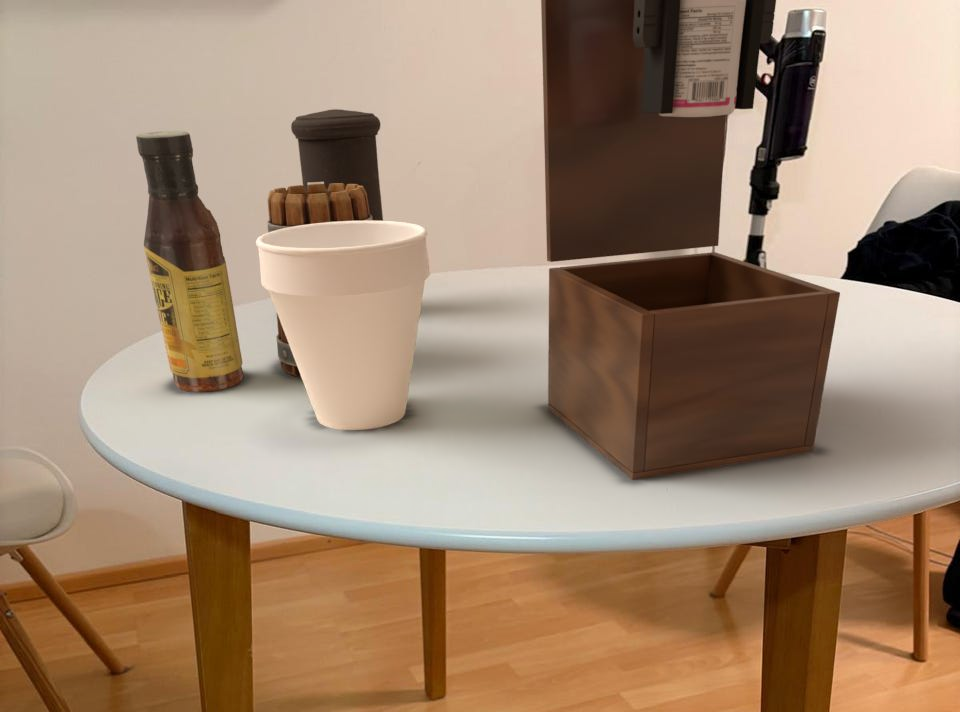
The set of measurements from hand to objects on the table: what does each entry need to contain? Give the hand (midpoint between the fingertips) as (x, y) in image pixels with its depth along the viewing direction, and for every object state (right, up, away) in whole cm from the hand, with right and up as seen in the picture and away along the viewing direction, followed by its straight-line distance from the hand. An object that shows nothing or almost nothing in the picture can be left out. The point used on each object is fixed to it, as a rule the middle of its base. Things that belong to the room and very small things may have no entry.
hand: (696, 109), depth 56 cm
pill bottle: (0, 0, 0) cm, 1 cm away
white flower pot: (-23, -15, +16) cm, 32 cm away
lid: (-2, +3, +7) cm, 8 cm away
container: (-27, +3, +46) cm, 54 cm away
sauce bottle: (-37, -10, +25) cm, 46 cm away
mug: (-27, -6, +31) cm, 42 cm away
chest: (+1, -17, +11) cm, 21 cm away
